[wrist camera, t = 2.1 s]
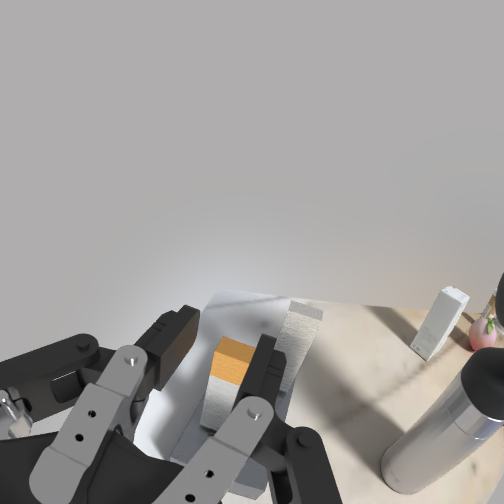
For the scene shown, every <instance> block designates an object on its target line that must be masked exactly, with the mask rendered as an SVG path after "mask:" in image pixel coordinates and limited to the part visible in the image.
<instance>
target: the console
mask: <svg viewBox="0 0 504 504" xmlns="http://www.w3.org/2000/svg"><path fill="white" fill-rule="evenodd" d="M295 378H296V377H295ZM295 378H294V380H293V382H292V384H291V386H290V388H289V390H288V392H284V391H281V390H279V392H278V396H277V399H276V403H275V411H276V414H277V415H278V417H279V418H280V419H281V420H282V421H283V422H285V419H286V415H287V411H288V407H289V403H290V399H291V395H292V390H293V386H294V382H295ZM205 395H206V393H205ZM205 395H204V396H203V398H202V400H201V402H200V404H199V406H198V407H197V409H196V411H195V413H194V415H193V416H192V418H191V420H190V422H189V424H188V425H187V427H186V429H185V431H184V432H183V434H182V436H181V438H180V439H179V441H178V443H177V445H176V447H175V448H174V450H173V452H172V454H171V455H170V462H174V463H177V464H180V465H182V466H184V467H185V466H186V465H187V464H188V463H189V461H190V460H191V459H192V458H193V457H194V455H195V454H196V453H197V452H198V450H199V449H200V448H201V447H202V446H203V444H204V443H205V442H206V441H207V440H208V439H209V438H210V437H213V436H214V435H215V434H216V432H217V431H215V430H212V429H210V428H207V427H205V426H202V425H200V420H201V415H202V410H203V405H204V400H205ZM267 483H268V476H267V471H266V467H264V466H262V465H261V464H259V463H258V462H256V461H255V460H253V459H252V458H250V457H249V459H248V461H247V462H246V464H245V465H244V467H243V468H242V470H241V471H240V473H239V474H238V476H237V477H236V479H235V480H234V482H233V483H232V485H231V486H230V488H229V489H228V492H231V493H234V494H237V495H240V496H244V497H247V498H251V499H254V500H256V499H257V498H258V497H259V496H260V495H261V494H262V493H263V492H264V491H265V489H266V486H267Z"/></svg>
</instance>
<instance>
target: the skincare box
mask: <svg viewBox="0 0 504 504" xmlns="http://www.w3.org/2000/svg"><path fill="white" fill-rule="evenodd" d="M469 299H470V297H469V296H467V295H466V294H464V293H463V292H461V291H460V290H458V289H456V288H455V287H453V286H450V287H446V288H445V289H442V290H441V291H440V293H439V294H438V296H437V298H436V300H435V302H434V304H433V306H432V308H431V310H430V312H429V313H428V315H427V317H426V319H425V321H424V322H423V324H422V326H421V328H420V329H419V331H418V333H417V335H416V336H415V338H414V340H413V341H412V343H411V345H410V347H411V348H412V349H413V350H415V351H416V352H417V353H418V354H419V355H420V356H421V357H422V358H423V359H424V360H426V361H428V360H429V359H430V358H431V357H432V356H433V355H434V354H435V353H437V352H438V351H439V350H440V349H441V347H442V346H443V344H444V343H445V341H446V339H447V338H448V336H449V334H450V333H451V331H452V329H453V328H454V326H455V324H456V322H457V321H458V319H459V317H460V315H461V313H462V311H463V310H464V308H465V306H466V304H467V302H468V300H469Z"/></svg>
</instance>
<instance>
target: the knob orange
mask: <svg viewBox="0 0 504 504" xmlns="http://www.w3.org/2000/svg"><path fill="white" fill-rule="evenodd" d="M255 350H256V348H254V347H251V346H248V345H245V344H243V343H240V342H237V341H234V340H232V339H229V338H226V337H224V336H223V338H222V339H221V341H220V343H219V344H218V346H217V348H216V350H215V352H214V356H213V361H212V366H211V371H210V376H209V381H208V385H207V390H206V395H205V400H204V405H203V410H202V415H201V420H200V425H202V426H205V427H207V428H210V429H212V430H215V431H218V430H219V429H220V427H221V426H222V425H223V423H224V422H225V421H226V419H227V418H228V417H229V415H230V413H231V410H232V407H233V404H234V401H235V398H236V396H237V393H238V390H239V387H240V385H241V383H242V380H243V378H244V376H245V373H246V371H247V369H248V366H249V364H250V362H251V359H252V357H253V354H254V352H255Z"/></svg>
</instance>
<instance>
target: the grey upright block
mask: <svg viewBox="0 0 504 504" xmlns="http://www.w3.org/2000/svg"><path fill="white" fill-rule="evenodd" d="M322 316H323V311H322V310H319V309H316V308H313V307H310V306H307V305H304V304H301V303H298V302H295V301H291V303H290V306H289V309H288V312H287V314H286V317H285V320H284V323H283V325H282V328H281V331H280V333H279V336H278V339H277V341H276V344H275V347H274V349H275V350H278V351H281V352H284V353H285V356H286V360H287V363H286V367H285V371H284V374H283V378H282V382H281V385H280V389H279V390H281V391H284V392H288V390H289V388H290V386H291V384H292V382H293V380H294V378H295V377H296V375H297V373H298V371H299V369H300V367H301V365H302V362H303V360H304V358H305V356H306V354H307V352H308V350H309V348H310V346H311V344H312V342H313V339H314V337H315V335H316V333H317V331H318V329H319V326H320V324H321V322H322Z"/></svg>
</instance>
